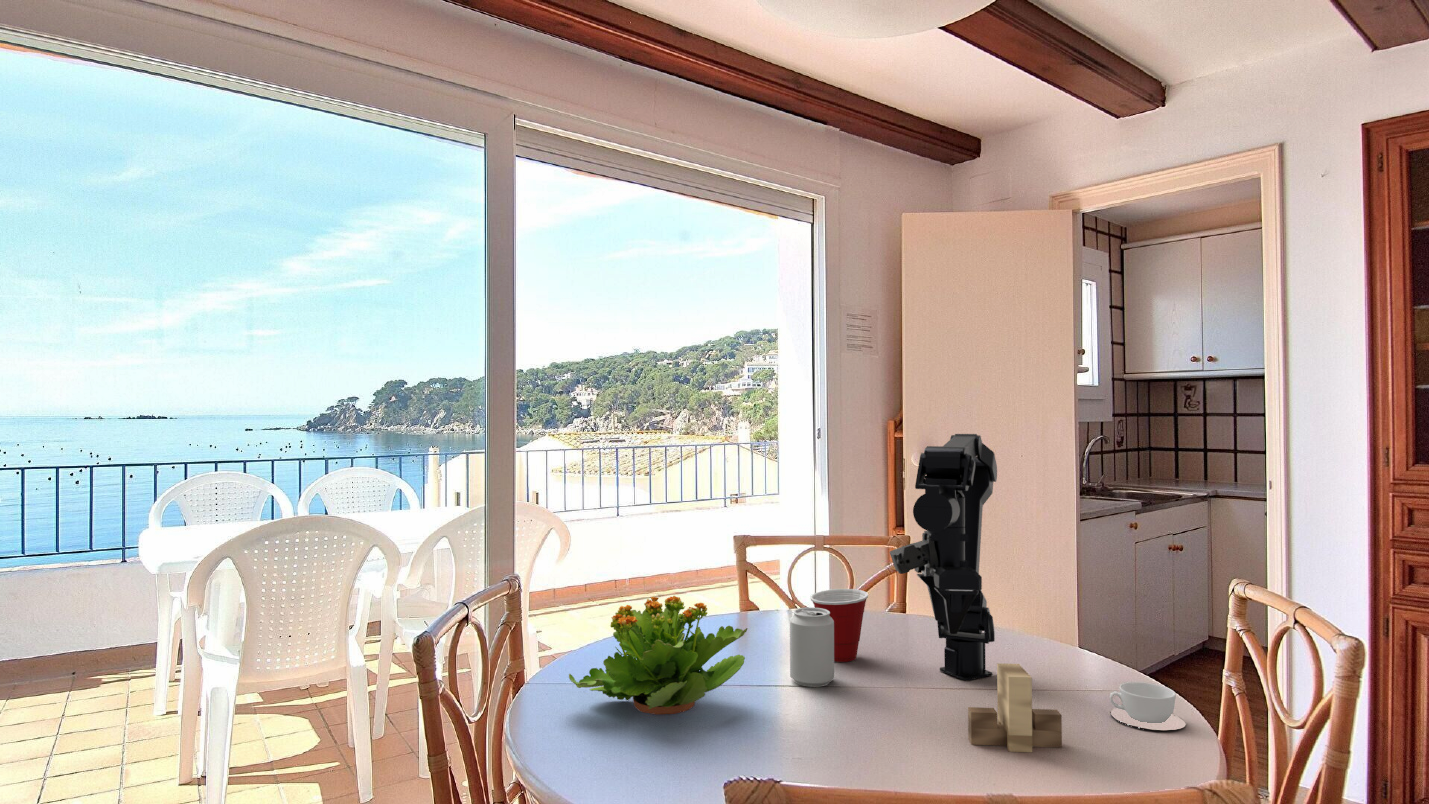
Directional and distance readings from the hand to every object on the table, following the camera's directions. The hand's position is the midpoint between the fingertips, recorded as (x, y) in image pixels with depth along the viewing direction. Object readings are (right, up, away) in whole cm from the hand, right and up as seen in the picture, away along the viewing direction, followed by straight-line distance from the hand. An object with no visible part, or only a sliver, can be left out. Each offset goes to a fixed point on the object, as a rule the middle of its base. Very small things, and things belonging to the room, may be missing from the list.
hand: (945, 626), depth 129 cm
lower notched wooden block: (+5, -12, -15) cm, 20 cm away
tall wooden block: (+5, -12, -15) cm, 20 cm away
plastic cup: (-13, -13, +25) cm, 31 cm away
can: (-19, -13, +12) cm, 26 cm away
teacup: (+28, -12, -7) cm, 31 cm away
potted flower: (-43, -13, +1) cm, 45 cm away
